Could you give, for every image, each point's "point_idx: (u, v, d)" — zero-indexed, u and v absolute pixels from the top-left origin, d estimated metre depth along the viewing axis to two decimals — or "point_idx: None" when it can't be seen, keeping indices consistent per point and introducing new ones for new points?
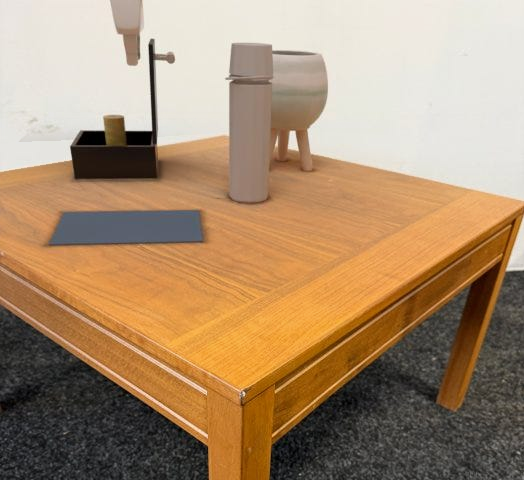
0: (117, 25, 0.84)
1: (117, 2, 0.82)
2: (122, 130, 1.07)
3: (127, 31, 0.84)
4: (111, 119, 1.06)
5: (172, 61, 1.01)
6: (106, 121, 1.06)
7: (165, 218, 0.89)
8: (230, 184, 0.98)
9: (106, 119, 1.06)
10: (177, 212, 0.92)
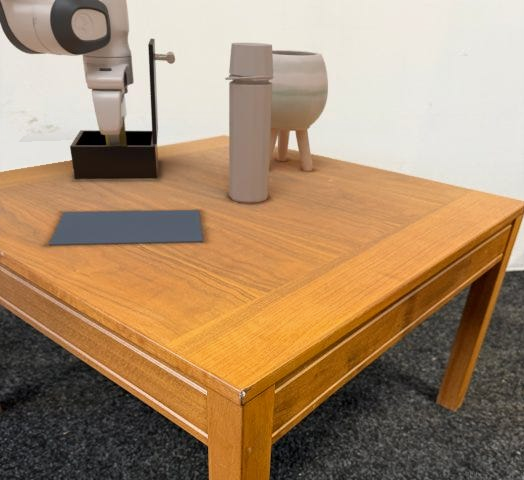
0: (100, 128, 0.99)
1: (100, 110, 0.97)
2: (122, 130, 1.07)
3: (109, 133, 1.00)
4: None
5: (172, 61, 1.01)
6: None
7: (165, 218, 0.89)
8: (230, 184, 0.98)
9: None
10: (177, 212, 0.92)
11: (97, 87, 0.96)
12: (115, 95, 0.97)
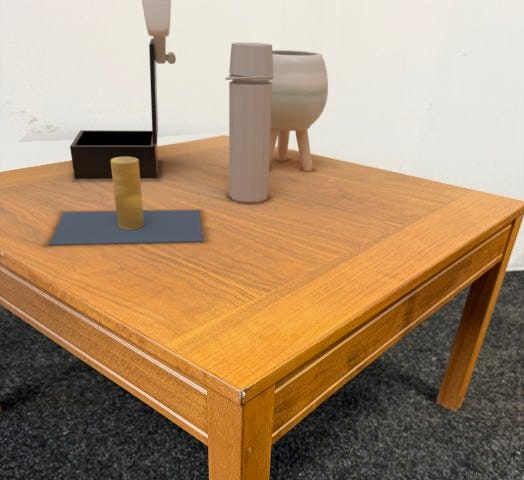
0: (149, 28, 0.92)
1: (149, 6, 0.90)
2: (135, 178, 0.81)
3: (158, 33, 0.92)
4: (121, 164, 0.79)
5: (173, 61, 1.01)
6: (115, 167, 0.79)
7: (165, 218, 0.89)
8: (230, 184, 0.98)
9: (114, 164, 0.79)
10: (177, 212, 0.92)
11: None
12: None
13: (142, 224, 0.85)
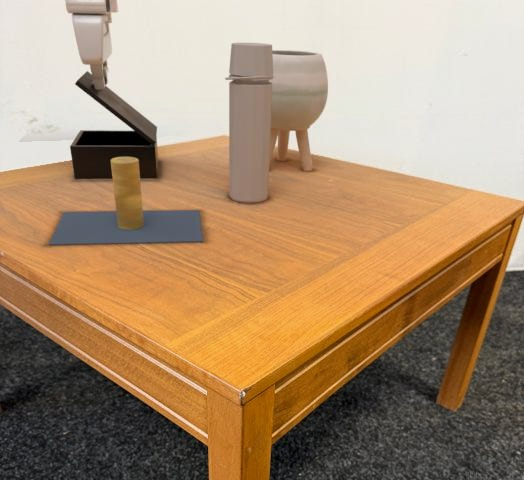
0: (82, 57, 0.92)
1: (81, 36, 0.91)
2: (135, 178, 0.81)
3: (91, 62, 0.93)
4: (121, 164, 0.79)
5: (104, 72, 1.01)
6: (115, 167, 0.79)
7: (165, 218, 0.89)
8: (230, 184, 0.98)
9: (114, 164, 0.79)
10: (177, 212, 0.92)
11: (77, 11, 0.90)
12: (97, 20, 0.91)
13: (142, 224, 0.85)
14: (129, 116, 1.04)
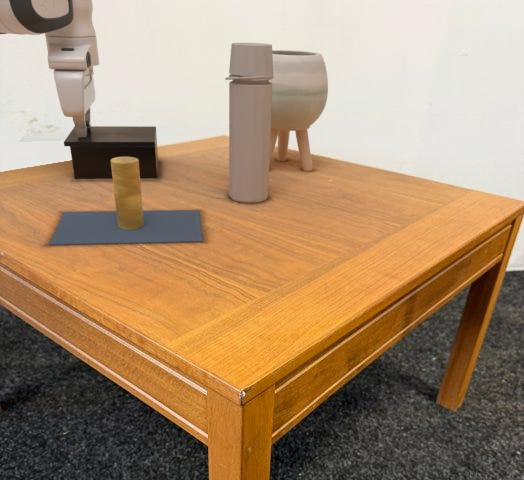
0: (63, 110, 0.96)
1: (62, 91, 0.95)
2: (135, 178, 0.81)
3: (73, 114, 0.97)
4: (121, 164, 0.79)
5: None
6: (115, 167, 0.79)
7: (165, 218, 0.89)
8: (230, 184, 0.98)
9: (114, 164, 0.79)
10: (177, 212, 0.92)
11: (59, 67, 0.94)
12: (78, 75, 0.95)
13: (142, 224, 0.85)
14: (122, 137, 1.06)
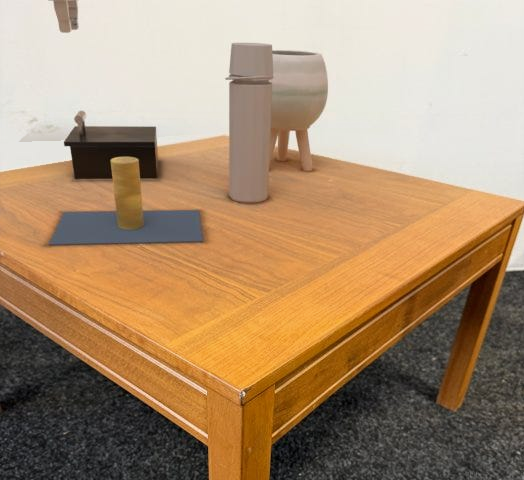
0: None
1: None
2: (135, 178, 0.81)
3: None
4: (121, 164, 0.79)
5: (80, 118, 1.04)
6: (115, 167, 0.79)
7: (165, 218, 0.89)
8: (230, 184, 0.98)
9: (114, 164, 0.79)
10: (177, 212, 0.92)
11: None
12: None
13: (142, 224, 0.85)
14: (122, 137, 1.06)
